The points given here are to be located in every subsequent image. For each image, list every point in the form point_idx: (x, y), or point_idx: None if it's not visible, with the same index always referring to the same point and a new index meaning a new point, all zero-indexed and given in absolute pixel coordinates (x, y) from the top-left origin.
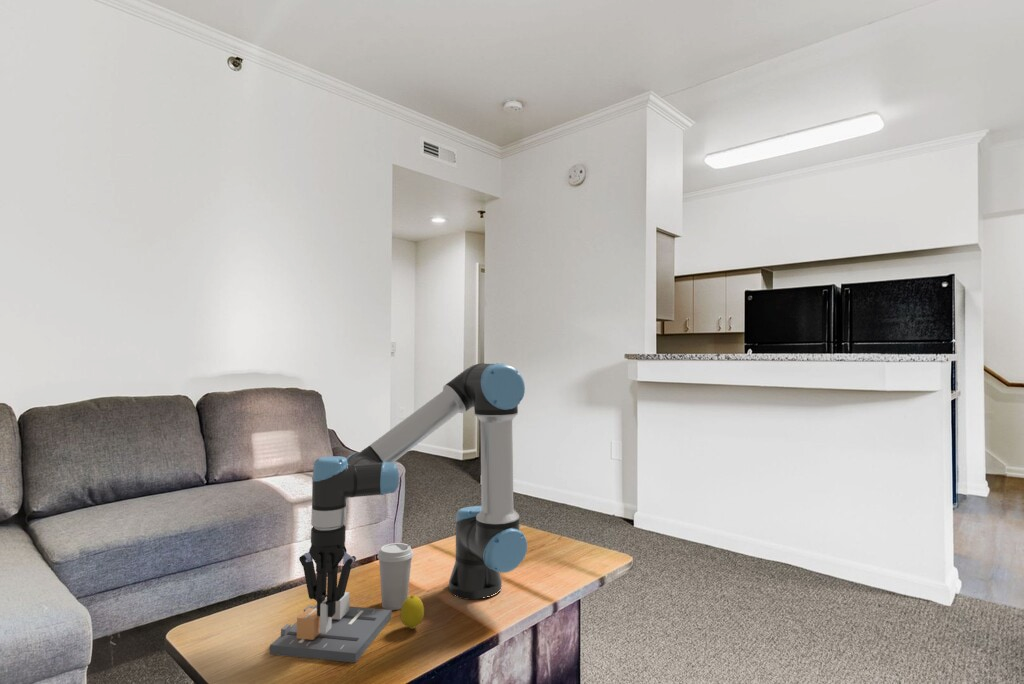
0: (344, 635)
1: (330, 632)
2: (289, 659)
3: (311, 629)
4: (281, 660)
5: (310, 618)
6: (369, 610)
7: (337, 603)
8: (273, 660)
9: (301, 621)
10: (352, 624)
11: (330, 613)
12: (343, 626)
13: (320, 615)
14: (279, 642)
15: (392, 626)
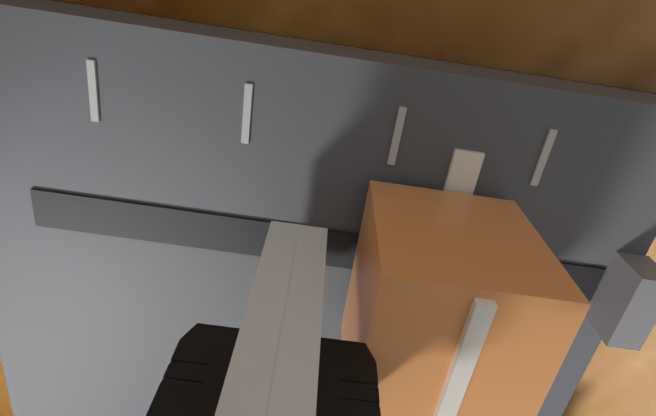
0: (167, 261)
1: None
2: (504, 26)
3: (394, 220)
4: (564, 9)
5: (426, 291)
6: None
7: None
8: (628, 7)
9: (522, 275)
10: None
11: (200, 352)
12: None
13: (318, 329)
14: (643, 155)
15: (7, 406)
